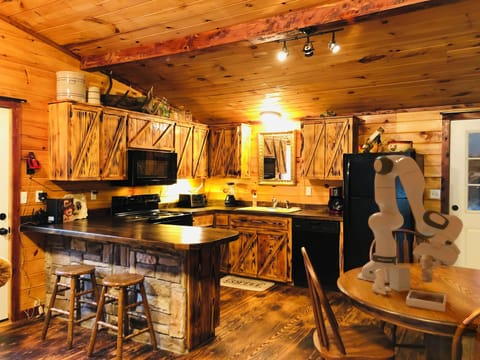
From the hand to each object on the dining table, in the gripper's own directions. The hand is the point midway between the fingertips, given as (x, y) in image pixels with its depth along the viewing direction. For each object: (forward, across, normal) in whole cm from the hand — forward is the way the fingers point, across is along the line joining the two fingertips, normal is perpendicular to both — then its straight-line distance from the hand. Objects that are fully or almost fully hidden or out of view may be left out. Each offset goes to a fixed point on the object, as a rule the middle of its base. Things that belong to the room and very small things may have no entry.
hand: (426, 267), depth 179 cm
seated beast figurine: (+16, -23, +9) cm, 30 cm away
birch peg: (+4, 0, +5) cm, 7 cm away
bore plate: (+12, 0, +12) cm, 17 cm away
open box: (+12, 0, +13) cm, 18 cm away
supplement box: (+7, -22, +18) cm, 29 cm away
